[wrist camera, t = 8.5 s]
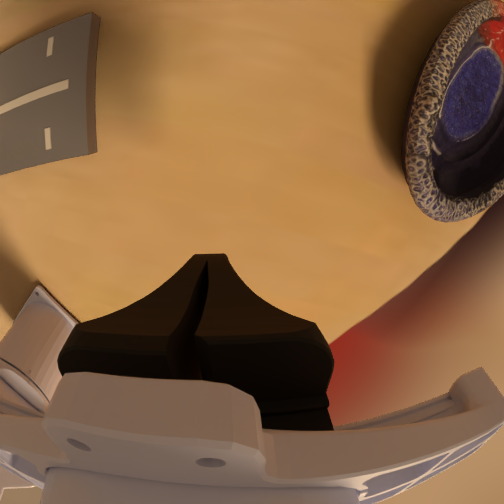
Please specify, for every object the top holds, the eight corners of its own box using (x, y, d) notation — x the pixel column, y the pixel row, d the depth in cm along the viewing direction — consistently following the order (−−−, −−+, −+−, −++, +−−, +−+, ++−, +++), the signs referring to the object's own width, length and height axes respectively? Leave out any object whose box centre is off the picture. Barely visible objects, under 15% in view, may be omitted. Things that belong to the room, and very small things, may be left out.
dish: (331, 122, 18) (362, 123, 14) (478, -20, 9) (505, -27, 5) (431, 246, 23) (462, 271, 19) (538, 82, 15) (564, 87, 10)
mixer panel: (100, 17, 12) (91, 11, 11) (97, 152, 17) (87, 154, 16) (-38, 86, 11) (-48, 87, 10) (-35, 186, 16) (-44, 190, 14)
